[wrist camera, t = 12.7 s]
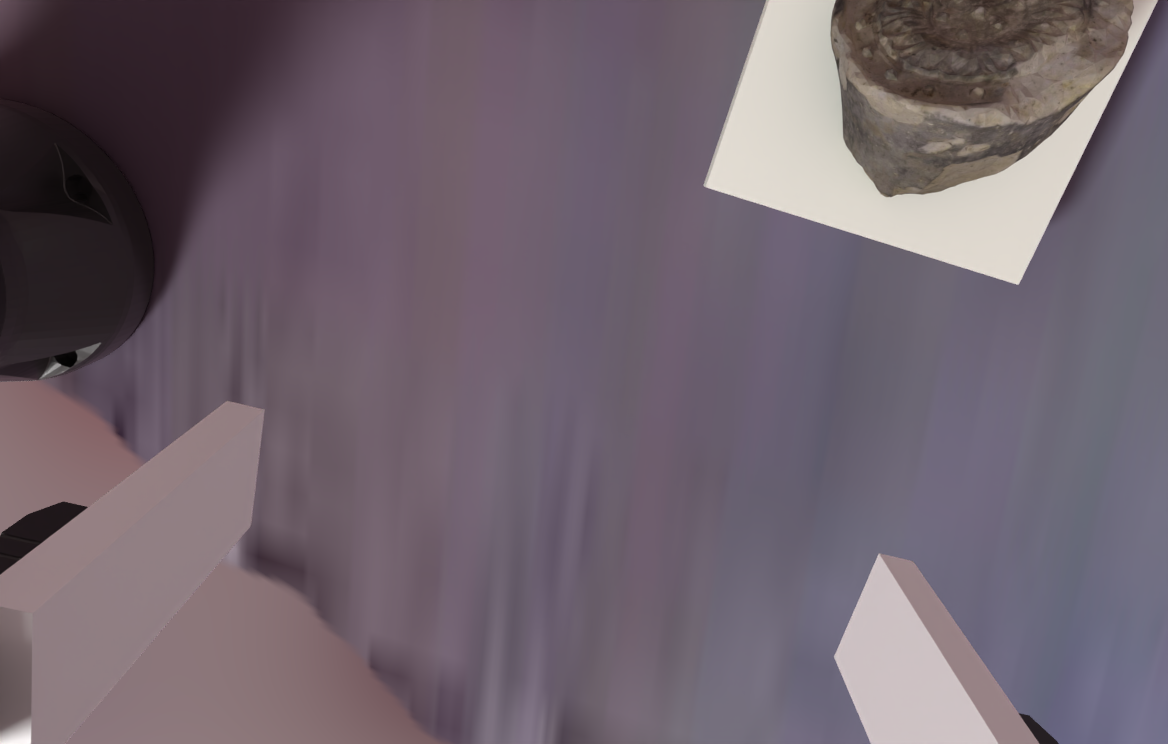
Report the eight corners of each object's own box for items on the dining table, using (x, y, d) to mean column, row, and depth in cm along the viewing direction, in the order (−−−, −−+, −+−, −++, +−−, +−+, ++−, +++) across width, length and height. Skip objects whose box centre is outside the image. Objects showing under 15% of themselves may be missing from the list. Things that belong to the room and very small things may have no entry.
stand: (697, 181, 40) (705, 187, 36) (812, -161, 35) (836, -196, 31) (981, 269, 41) (1018, 284, 37) (1133, -53, 36) (1194, -74, 32)
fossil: (988, -152, 31) (1205, -119, 24) (1030, 32, 37) (1214, 104, 29) (766, 30, 33) (901, 113, 26) (839, 176, 39) (966, 278, 32)
